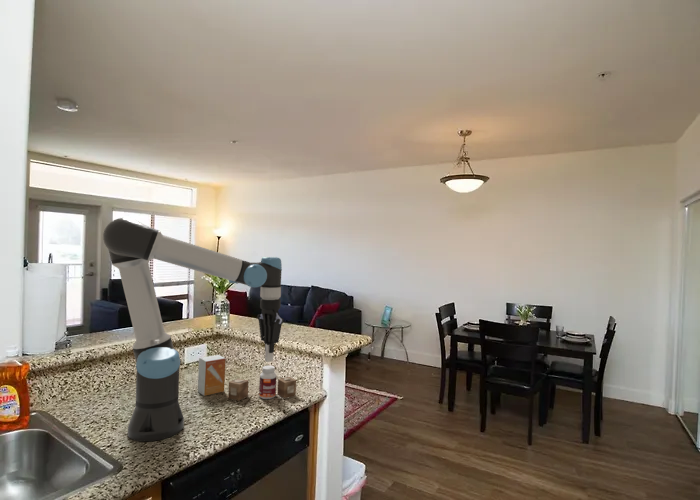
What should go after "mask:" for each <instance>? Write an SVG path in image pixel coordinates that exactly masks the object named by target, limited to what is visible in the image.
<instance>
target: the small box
mask: <svg viewBox="0 0 700 500" xmlns="http://www.w3.org/2000/svg"><path fill="white" fill-rule="evenodd" d="M225 380H226V357H224V356H222V355H220V354H216V355H209V356H203V357H199V358H198V374H197V392H198V393H199V394H200V395H202V396H204V397H205V396H209V395H213V394H219V393H224V392H225V384H226V383H225Z"/></svg>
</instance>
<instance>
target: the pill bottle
mask: <svg viewBox="0 0 700 500" xmlns="http://www.w3.org/2000/svg"><path fill="white" fill-rule="evenodd" d="M275 370H276V367H275V366H274V365H265V366H262V368H261V371H262V372H261V373H260V375H259V386H258V397H259V398H260V399H262V400H270V399H274V398H275V397H276V393H277V373H276V371H275Z"/></svg>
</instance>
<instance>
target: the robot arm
mask: <svg viewBox="0 0 700 500" xmlns="http://www.w3.org/2000/svg"><path fill="white" fill-rule="evenodd" d="M102 239H103V242H104V245H105V247H106V248H107V249H108V253H109V254H108V255H109V258H110V262H111V265H112V266H113V267H115V268H117V269H118V271H119V275H120V279H121V283H122V287H123V293H124V296H125V299H126V303H127V307H128V308H127V309H128V313H129V316H130V320H131V324H132V328H133V333H134V336H135V342H134V343H133V345H132V352H133V356H134V359H135V369H136V374H135V375H136V378H135V381H136V382H135V405H134V406H135V407H134V409H133V412H132V415H131V417H130V420H129V423H128V425H127V426H128V427H127V436H128V438H129V439H131V440H133V441H137V442H155V441H160V440H164V439H168V438H170V437H173V436H174V435H175V436H176V435H177V434H179V433H180V432H181V431H182V430H183V429H184V426H185V425H184V424H185V419H184V413H183V412H182V407H181V406H180V403H179V396H180V395H179V392H180V365H181V358H180V353H179V351H178V350H176V349H175V348H174V345H173V344H174V343H173V340H172V337H171V335H170V334H168V333H167V332H165V328H164V323H163V319H162V316H161V311H160V306H159V302H158V298H157V294H156V290H155V285H154V282H153V281H154V280H153V277H152V272H151V269H150V264H149V263H150V261H151V260H158V261H161V262H165V263H167V264H172V265H175V266H179V267H182V268H184V269H185V268H186V269H189V270H192V271H196V272H200V273H203V274H206V275H210V276H213V277H217V278H221V279H224V280H227V281H228V282H229V283H230V284H242V285H244V286H248V287H249V288H260V293H259V295H260V300H259V301H260V302H259V303H260V304H259V308H260V309H261V314H257V316H256V317H257V320H258V327H259V333H260V341H262V342H263V344H264V362H266V363H269V362H273V361H274V352H275V344H277V343H279V341H280V337H281V330H282V325H283V323H284V321H285V319H284V318H282V317H280V312H279V310H280V309H281V304H282V303H281V302H282V301H281V296H282V270H283V269H282V259H281V258H280V257H277V256H275V257H274V256H273V257H272V256H271V257H270V256H269V257H268V256H267V257H266V256H264V257H262V258H261V259H260V261H259V262H250V261H248V260H244V259H243V260H242V259H240V258H236V257H233V256H230V255H227V254H224V253H222V252H218V251H215V250H212V249H209V248H205V247H203V246H199V245H196V244H193V243H189V242H186V241H183V240H179V239H177V238H173V237H170V236H167V235H163V234H162V232H161V231H160V230H159V229H156V228H153V227H150V226H148V225H146V224H144V223H142V222H139V221H138V220H136V219H134V218H131V217H119V218H116V219H114V220H112V221H110V222H109V223H108V224H107V226H106V227H105V228H104V230H103V234H102Z"/></svg>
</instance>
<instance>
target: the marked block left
mask: <svg viewBox="0 0 700 500" xmlns="http://www.w3.org/2000/svg"><path fill="white" fill-rule="evenodd" d="M227 397H228V399H231V400H234V401H237V402H238V401H239V402H240V401H241V400H244V399H245V398H248V397H249V380H247V379H244V378H238V377H237V378H235V379H233V380H230V381H229V382H228V396H227Z"/></svg>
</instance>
